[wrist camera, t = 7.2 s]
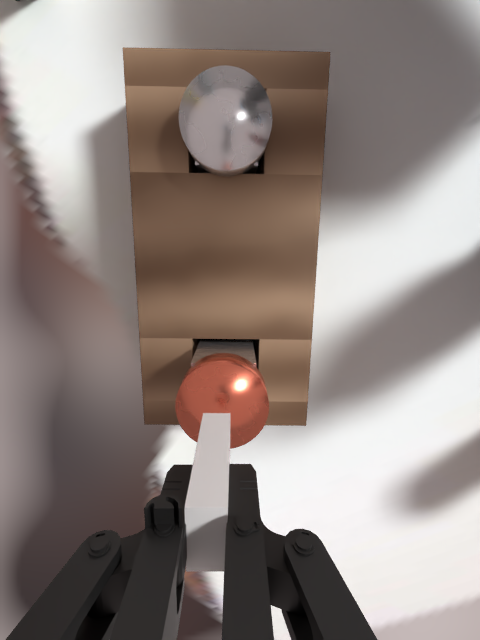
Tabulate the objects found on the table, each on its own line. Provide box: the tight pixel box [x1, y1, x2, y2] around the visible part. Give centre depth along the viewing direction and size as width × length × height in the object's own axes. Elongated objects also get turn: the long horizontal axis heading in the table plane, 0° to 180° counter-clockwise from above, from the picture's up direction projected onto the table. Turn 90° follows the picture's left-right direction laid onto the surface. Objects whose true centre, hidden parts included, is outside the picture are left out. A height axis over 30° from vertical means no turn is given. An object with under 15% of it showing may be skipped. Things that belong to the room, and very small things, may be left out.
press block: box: [123, 48, 330, 426], centre depth 27 cm, size 28×14×6 cm, turn 179°
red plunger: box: [175, 340, 269, 449], centre depth 24 cm, size 6×6×8 cm
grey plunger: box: [179, 65, 272, 177], centre depth 24 cm, size 6×6×8 cm
